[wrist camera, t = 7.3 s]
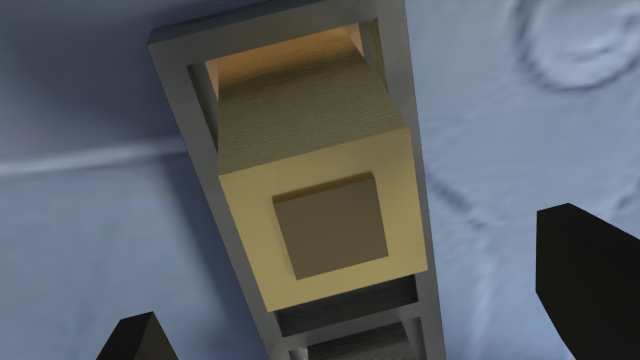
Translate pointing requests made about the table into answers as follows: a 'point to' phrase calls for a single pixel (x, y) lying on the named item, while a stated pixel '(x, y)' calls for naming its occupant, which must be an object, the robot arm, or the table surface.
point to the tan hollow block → (318, 174)
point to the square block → (366, 345)
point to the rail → (202, 144)
